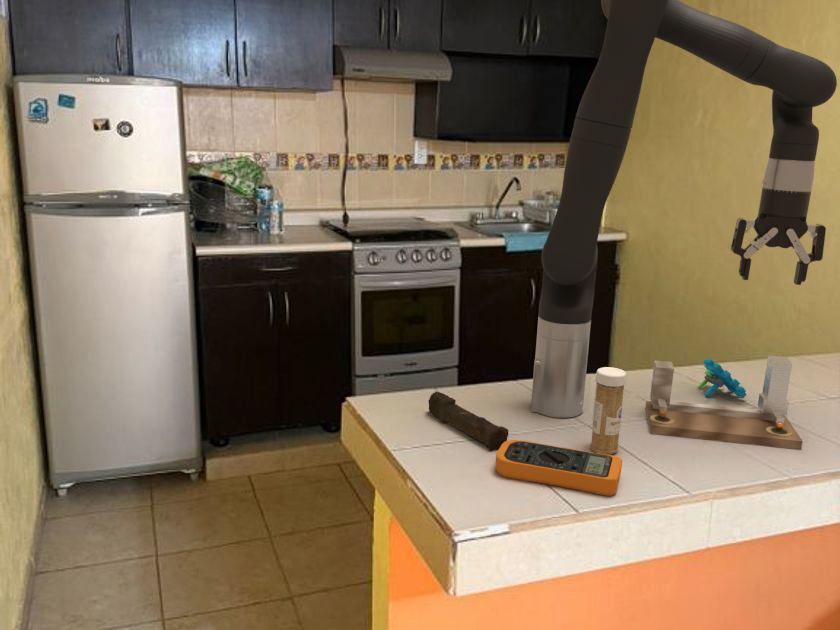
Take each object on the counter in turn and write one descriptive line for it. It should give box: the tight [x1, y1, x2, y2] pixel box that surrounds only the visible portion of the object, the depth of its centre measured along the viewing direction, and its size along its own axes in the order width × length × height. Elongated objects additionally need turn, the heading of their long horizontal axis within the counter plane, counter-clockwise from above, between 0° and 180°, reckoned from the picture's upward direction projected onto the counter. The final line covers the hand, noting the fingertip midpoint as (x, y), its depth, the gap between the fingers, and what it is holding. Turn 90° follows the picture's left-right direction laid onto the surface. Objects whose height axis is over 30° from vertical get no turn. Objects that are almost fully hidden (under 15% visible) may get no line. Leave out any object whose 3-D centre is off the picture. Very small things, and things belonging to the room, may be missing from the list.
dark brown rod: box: [428, 391, 509, 452], centre depth 131 cm, size 19×4×5 cm, turn 33°
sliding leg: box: [757, 354, 793, 430], centre depth 133 cm, size 4×8×10 cm, turn 169°
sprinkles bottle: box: [589, 366, 627, 455], centre depth 124 cm, size 5×5×14 cm
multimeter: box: [494, 439, 623, 497], centre depth 116 cm, size 9×18×3 cm, turn 71°
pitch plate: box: [644, 360, 803, 451], centre depth 135 cm, size 24×12×10 cm, turn 79°
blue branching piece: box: [697, 358, 747, 399], centre depth 152 cm, size 11×6×10 cm
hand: (770, 281), depth 135 cm, fingers open, 8 cm apart
